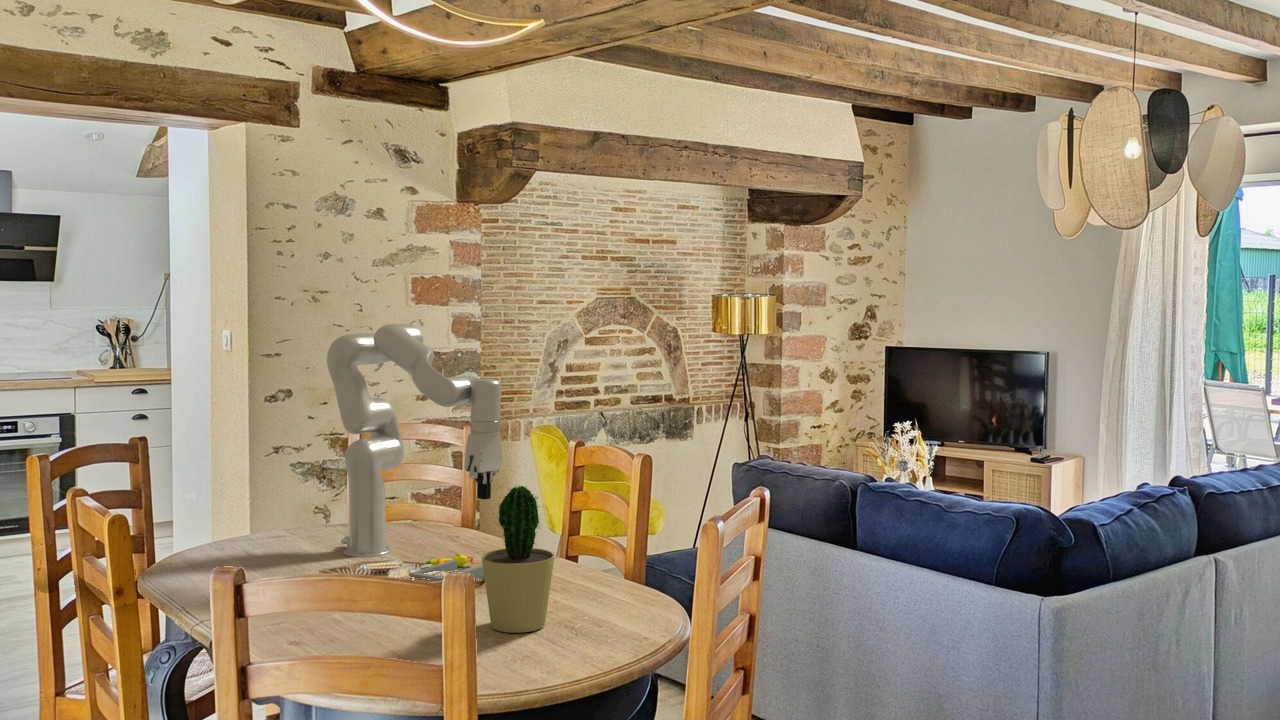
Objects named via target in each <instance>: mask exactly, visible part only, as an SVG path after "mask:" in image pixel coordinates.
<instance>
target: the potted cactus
mask: <svg viewBox="0 0 1280 720" xmlns="http://www.w3.org/2000/svg"><path fill="white" fill-rule="evenodd" d="M508 491H509V492H507V494H506V495H505V494H502V493H501V495H503V496H502V500H501V502H499V504H497V505H496V504H495V506H496V507H498V509H499V510H498V515H499V516H497V518H495V519H498V522H497V523H496V525H499V526H498V528H501V531H499V533H501V532H503V534H502V538H503V539H502V540H501V541H502V543H504V546H505V547H504V548H497V549H492V550H489V551H485V552H484V553H482V554H481V555H480V558H481V563H482V564H481V565H482V566H483V572H484V579H483V580H484V585H485V590H486V598H487V604H488V605H487V606H488V612H489V619H490V624H491V628H492V629H494V630H496V631H498V632H502V633H510V634H511V633H514V634H515V633H517V634H518V633H528V632H534V631H537V630H540V629H542V628H543V627H545V625H546V624H545V623H546V620H547V613H548V606H549V605H548V604H549V598H550V590H551V585H552V584H551V583H552V576H553V572H554V571H553V570H554V563H555V553H554V552H553V551H550V550H548V549H543V548H537V547H534V545H537V543H535V539H536V537H538V535H537V533H539V531H537V530H538V529H539V530H542V528H540V527H542V523H540V520H543V519H542V518H539V516H540V514H539V510H540V509H539V508H541V507H542V505H541V506H540V505H538V501H537V500H538V499H539V497H537V496H534V494H532V491H531V490H529V489H528V488H527V487H526V486H524V485H516V486H513V487H512V488H508Z"/></svg>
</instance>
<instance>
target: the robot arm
mask: <svg viewBox="0 0 1280 720" xmlns="http://www.w3.org/2000/svg"><path fill="white" fill-rule="evenodd" d="M434 359H435V353H434V351H433V350H432V349H431V347H429V346H427V345H426V344H424V336H423V333H422V332H421V330H420V329H419V328H417V326H415V325H413V324H410V323H391V324H389V323H388V324H385V325H382V326H381V327H379V328H378V329H377V330H376V331H375V332H374V333H349V334H344V335H343V334H342V335H341V336H339V337H337V338H336V339H334V341H333V342H332V343H330V346H329V347H328V351H327V354H326V365H327V366H326V367H327V370H328V374H329V376H330V378H331V381H332V385H333V389H334V392H335V397H336V400H337V405H338V409H339V413H340V419H341V421H342V425H343V428H344V429H345V431H346V432H347V433H349V434H352V435H362V434H370V437H369V436H368V437H365V438H359V439H357V440H355V441H353V442H351V443H350V444H349V445H348V447H347V448H346V449H345V450H346V451H345V454H344V462H345V468H346V472H347V478H348V498H349V499H348V501H349V503H348V505H349V512H348V514H349V518H348V519H349V535H345V536H344V538H341V540H340V544H343V545H346V549H344V550H343V554H344V555H345V556H348V557H352V558H353V557H354V558H375V557H382V556H385V555H388V554H390V553H392V551H393V550H392V547H390V546H387V544H386V543H387V542H386V540H387V539H386V538H387V537H386V535H387V534H386V486H385V482H384V480H383V478H382V477H383V476H382V475H381V472H382V471H386V470H391V469H395V468H396V467H398V466H399V465H400V464H401V463H402V461H403V459H404V455H405V454H404V453H405V449H404V443H403V439H402V434H401V431H400V426H399V423H398V417H397V413H396V411H395V408H394V406H393V405H392V404H391V403H390V402H389V401H388V400H387V399H385V398H384V397H371V395H370V393H369V389H368V384H367V380H366V379H365V377H364V375H363V374H362V372H361V371H360V370H359V369H358V366H359V365H362V366H363V365H365V366H366V365H377V364H383V363H388V362H393V363H394V364H396V365H397V366H398V367H400V368H401V369H402V370H404V371H405V372H406V373H408V374H409V375H410V376H411V380H412V382H413V384H414V386H415V388H416V389H417V390H418V391H419V392H420V393H421V394H422V395H423V396H425V397H426V398H428V400H430V401H432V402H433V403H435V404H436V405H439V406H441V407H444V408H453V407H459V406H460V407H461V406H470V423H469V424H470V425H469V426H470V427H469V429H470V430H469V433H468V436H467V439H466V444H465V455H464V456H465V457H464V470H465V471H466V472H469V474H468V476H469V478H472V479H474V480H475V484H476V498H477V499H478V500H485V501H486V500H490V499H491V496H492V495H491V494H492V483H493V481H494V476H495V475H497V474H499V471H500V468H501V467H502V464H503V448H502V447H503V446H502V436H501V402H502V401H501V399H502V397H501V395H502V391H501V390H502V386H501V385H502V384H501V382H500V381H499V380H498V379H496V378H495V379H494V378H479V377H478V378H477V377H474V376H470V375H465V376H464V375H463V376H450V377H449V376H448V377H447V376H445V374H443V373H441V372H440V371H439V370H437V369H435V368H434V367H433V362H434Z"/></svg>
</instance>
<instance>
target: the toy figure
mask: <svg viewBox="0 0 1280 720" xmlns="http://www.w3.org/2000/svg"><path fill="white" fill-rule="evenodd" d="M468 559H470V560H468ZM451 560H456V561H457V568H459V567H460V568H462V567H463V566H465V565H466V564H467V563H470V564H471V565H472V564H474V556H473V555H470V556H467V555H464V554H462V553H461V552H457V553H456V554H455V555H454V556H453V557H451V558H440V557H439V558H434V559H430V560H429V561H428V560H426V561H425V565H426V564H432V565H438V564H441V563H444V562H448V561H451Z"/></svg>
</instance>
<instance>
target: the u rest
mask: <svg viewBox="0 0 1280 720" xmlns="http://www.w3.org/2000/svg"><path fill="white" fill-rule="evenodd" d="M443 570H444V571H449V570H450V571H454V572H462V573H470V574H473V575H474V578H475V582H474V583H476V578H477V579H478V578H479V579H481V578H484V572H483V566H482V564H479V565H477V566H473V567H470V568H467V569H464V568H458V566H457V561H456V560H451V561H448V562H444V563H441V564H438V565H435V566H431V567H430V566H429V567H425V568H422V569H418V570H415V571H412V572H409V574H408V576H410V577H420V578H425V579H418V580H426V581H440V580H441V579H442V578H443V576H442V577H441V576H435V575H429V574H424V573H428V572H433V571H443ZM455 570H458V571H455ZM454 572H449V573H454ZM409 579H412V578H409V577H408V580H409ZM427 579H433V580H427Z"/></svg>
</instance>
